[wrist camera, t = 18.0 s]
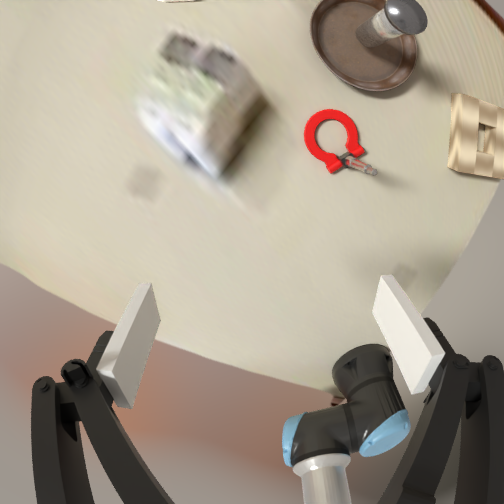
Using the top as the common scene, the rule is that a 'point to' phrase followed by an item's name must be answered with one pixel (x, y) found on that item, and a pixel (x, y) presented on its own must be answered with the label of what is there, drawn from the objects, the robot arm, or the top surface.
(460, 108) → the oak hitch block
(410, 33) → the steel pin
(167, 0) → the dish
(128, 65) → the top surface
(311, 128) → the tow hook
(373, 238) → the top surface
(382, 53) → the plant saucer
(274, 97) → the top surface
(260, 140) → the top surface
